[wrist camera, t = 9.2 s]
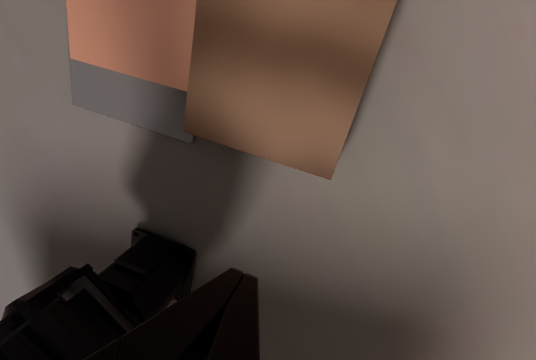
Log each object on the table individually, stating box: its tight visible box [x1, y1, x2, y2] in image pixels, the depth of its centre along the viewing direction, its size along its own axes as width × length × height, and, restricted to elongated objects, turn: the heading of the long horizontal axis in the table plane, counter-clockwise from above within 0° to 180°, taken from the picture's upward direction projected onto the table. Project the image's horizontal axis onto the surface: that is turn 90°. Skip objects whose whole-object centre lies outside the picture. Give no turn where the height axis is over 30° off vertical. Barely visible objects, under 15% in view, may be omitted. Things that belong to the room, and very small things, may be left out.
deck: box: [183, 0, 397, 180], centre depth 16 cm, size 11×10×2 cm
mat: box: [65, 0, 194, 144], centre depth 18 cm, size 14×11×1 cm
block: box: [66, 0, 197, 92], centre depth 17 cm, size 9×6×2 cm, turn 78°
